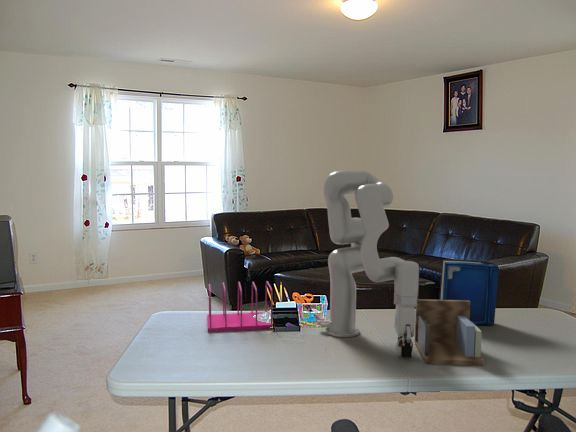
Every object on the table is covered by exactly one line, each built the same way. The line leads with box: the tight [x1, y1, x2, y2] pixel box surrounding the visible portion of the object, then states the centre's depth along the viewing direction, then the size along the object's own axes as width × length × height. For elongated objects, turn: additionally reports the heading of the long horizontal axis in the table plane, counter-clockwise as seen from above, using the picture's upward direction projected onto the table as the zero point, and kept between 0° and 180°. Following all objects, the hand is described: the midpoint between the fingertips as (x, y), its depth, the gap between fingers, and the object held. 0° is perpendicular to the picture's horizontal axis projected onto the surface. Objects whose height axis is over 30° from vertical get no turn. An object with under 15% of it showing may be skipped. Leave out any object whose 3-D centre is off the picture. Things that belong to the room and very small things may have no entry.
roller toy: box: [395, 338, 414, 360], centre depth 161 cm, size 4×6×6 cm
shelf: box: [414, 298, 485, 367], centre depth 163 cm, size 18×18×16 cm
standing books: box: [456, 316, 483, 358], centre depth 162 cm, size 5×11×10 cm, turn 177°
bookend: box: [418, 315, 430, 356], centre depth 163 cm, size 1×11×10 cm, turn 177°
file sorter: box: [206, 280, 274, 333], centre depth 193 cm, size 17×25×16 cm
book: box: [438, 259, 500, 327], centre depth 195 cm, size 22×7×25 cm, turn 84°
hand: (404, 352), depth 162 cm, fingers closed on roller toy, 6 cm apart
